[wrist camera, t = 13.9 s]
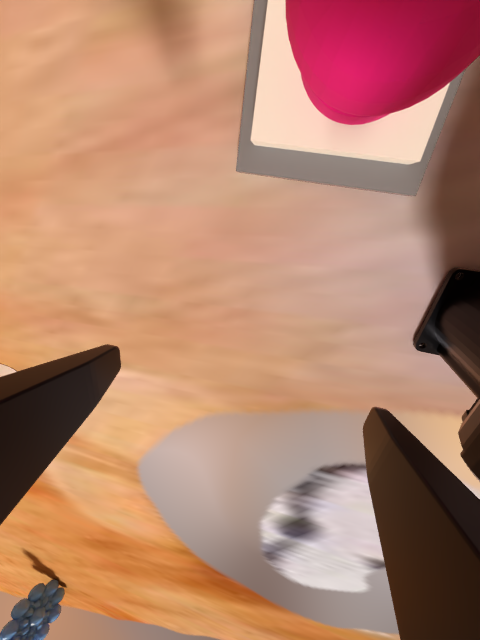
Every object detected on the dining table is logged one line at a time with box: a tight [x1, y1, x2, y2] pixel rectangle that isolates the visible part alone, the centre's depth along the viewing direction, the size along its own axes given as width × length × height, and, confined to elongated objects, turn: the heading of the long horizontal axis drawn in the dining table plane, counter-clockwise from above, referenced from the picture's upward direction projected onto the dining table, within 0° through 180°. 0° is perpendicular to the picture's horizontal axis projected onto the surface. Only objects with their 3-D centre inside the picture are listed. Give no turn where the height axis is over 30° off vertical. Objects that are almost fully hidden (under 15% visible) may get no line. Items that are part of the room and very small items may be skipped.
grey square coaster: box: [236, 0, 465, 196], centre depth 13 cm, size 12×11×3 cm
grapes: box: [0, 580, 65, 640], centre depth 57 cm, size 12×7×12 cm, turn 19°
